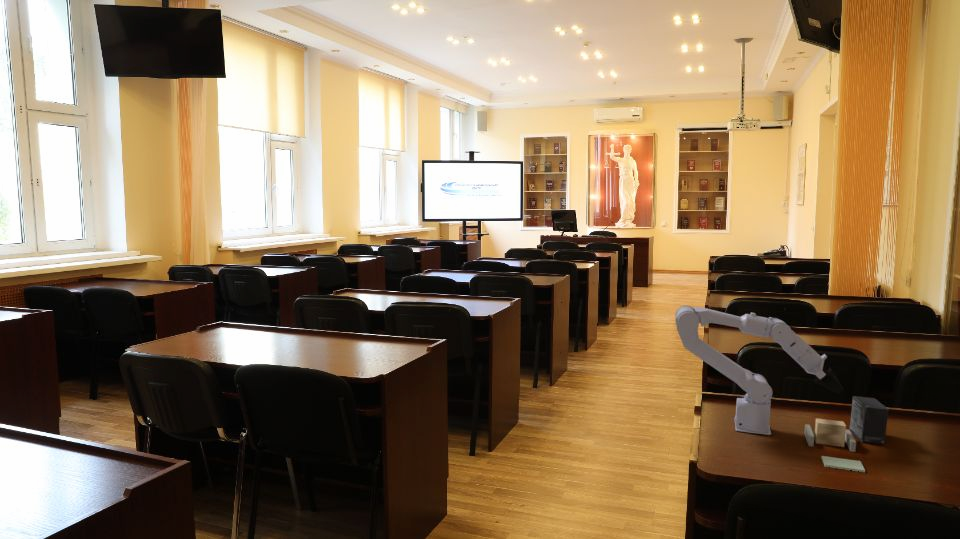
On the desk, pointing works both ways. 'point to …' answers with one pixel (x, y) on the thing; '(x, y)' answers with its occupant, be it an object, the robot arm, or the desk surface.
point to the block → (830, 432)
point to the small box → (868, 420)
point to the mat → (843, 464)
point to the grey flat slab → (848, 438)
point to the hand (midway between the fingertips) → (838, 386)
